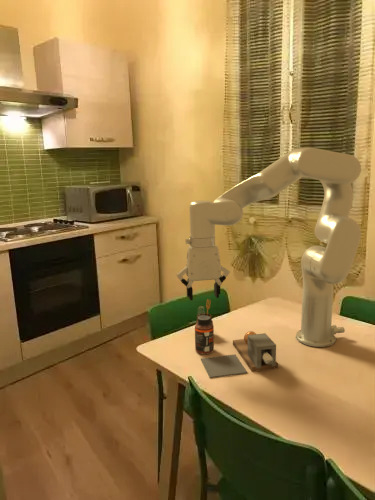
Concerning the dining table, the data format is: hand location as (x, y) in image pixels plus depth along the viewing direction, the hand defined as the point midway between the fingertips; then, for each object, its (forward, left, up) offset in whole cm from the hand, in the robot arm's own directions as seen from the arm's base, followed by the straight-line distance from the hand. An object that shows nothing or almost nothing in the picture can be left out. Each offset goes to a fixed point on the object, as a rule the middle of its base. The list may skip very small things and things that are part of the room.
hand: (203, 297), depth 122 cm
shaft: (-14, +11, -16) cm, 24 cm away
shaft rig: (-14, +7, -18) cm, 24 cm away
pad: (-3, +11, -18) cm, 21 cm away
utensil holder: (-3, -12, -18) cm, 22 cm away
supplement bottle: (0, 0, -18) cm, 18 cm away
